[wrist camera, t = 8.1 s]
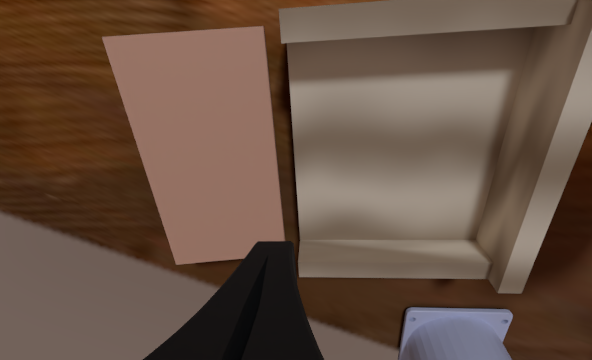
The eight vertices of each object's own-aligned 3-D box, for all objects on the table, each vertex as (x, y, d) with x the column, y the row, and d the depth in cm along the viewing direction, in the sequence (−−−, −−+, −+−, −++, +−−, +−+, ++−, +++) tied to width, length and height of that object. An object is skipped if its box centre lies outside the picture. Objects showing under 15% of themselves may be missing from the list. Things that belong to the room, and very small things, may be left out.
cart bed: (476, 235, 20) (521, 293, 15) (302, 235, 21) (298, 290, 17) (542, -5, 14) (650, -23, 9) (288, 14, 15) (275, 7, 10)
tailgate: (285, 254, 19) (176, 264, 18) (285, 235, 20) (184, 244, 20) (263, 25, 13) (101, 37, 12) (264, 27, 14) (123, 36, 14)
